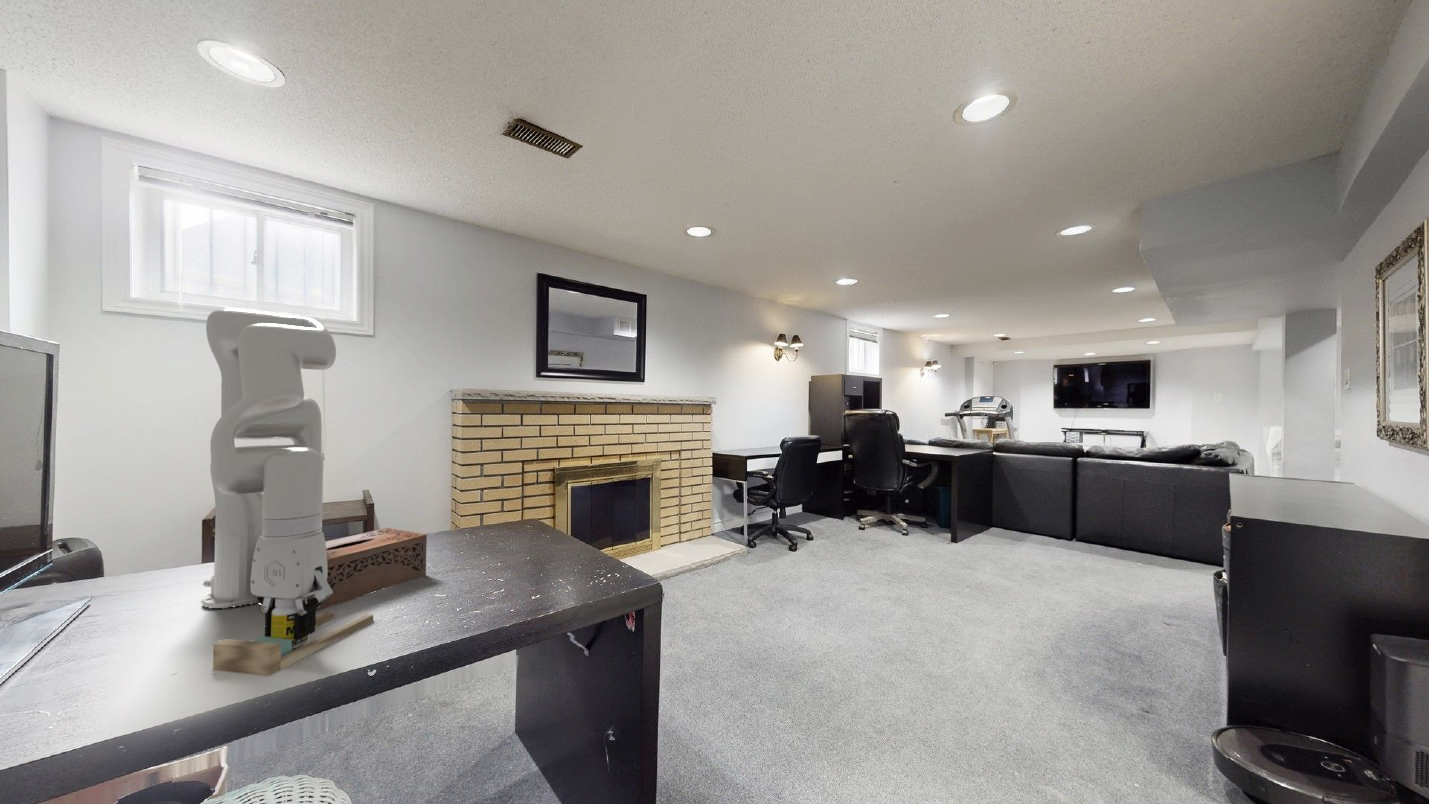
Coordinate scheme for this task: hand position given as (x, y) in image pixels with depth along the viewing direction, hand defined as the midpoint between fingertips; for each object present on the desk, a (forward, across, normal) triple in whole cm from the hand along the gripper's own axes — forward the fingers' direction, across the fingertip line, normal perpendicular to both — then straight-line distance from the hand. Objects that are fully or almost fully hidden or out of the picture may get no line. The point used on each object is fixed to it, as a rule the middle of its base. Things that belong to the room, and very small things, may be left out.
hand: (290, 633), depth 80 cm
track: (+2, 0, +3) cm, 4 cm away
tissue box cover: (+3, -14, +24) cm, 28 cm away
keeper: (+2, 0, -4) cm, 5 cm away
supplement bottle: (+2, 0, 0) cm, 2 cm away
